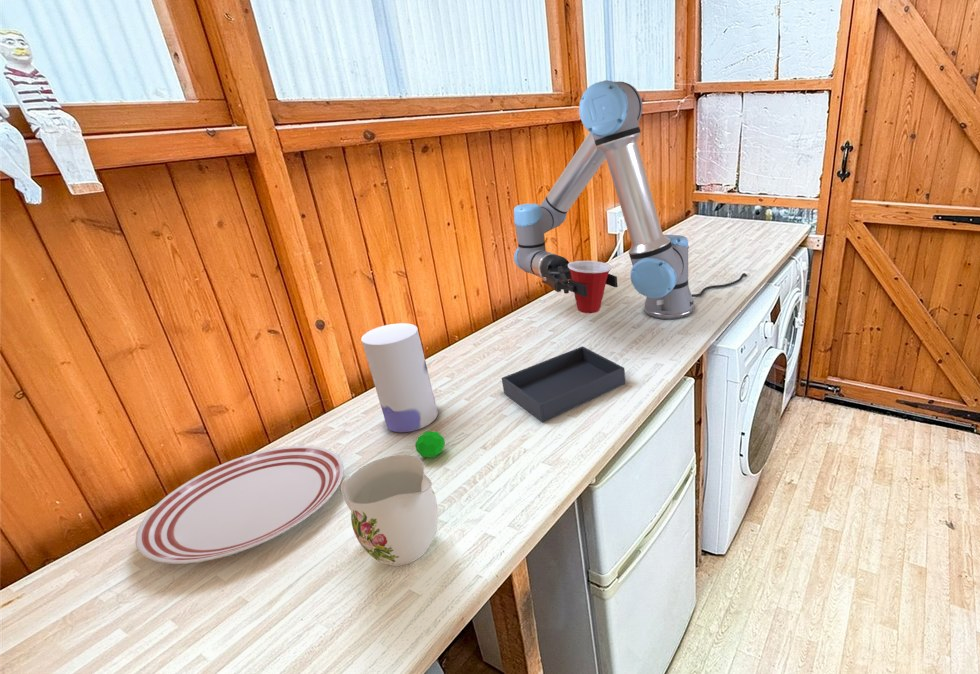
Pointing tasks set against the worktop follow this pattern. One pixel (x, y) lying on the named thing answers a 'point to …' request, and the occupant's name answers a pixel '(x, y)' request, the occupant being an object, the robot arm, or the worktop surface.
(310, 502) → the dinner plate
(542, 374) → the dark grey tray
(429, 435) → the polyhedron
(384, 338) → the container
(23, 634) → the worktop surface
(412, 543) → the pitcher
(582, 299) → the plastic cup
